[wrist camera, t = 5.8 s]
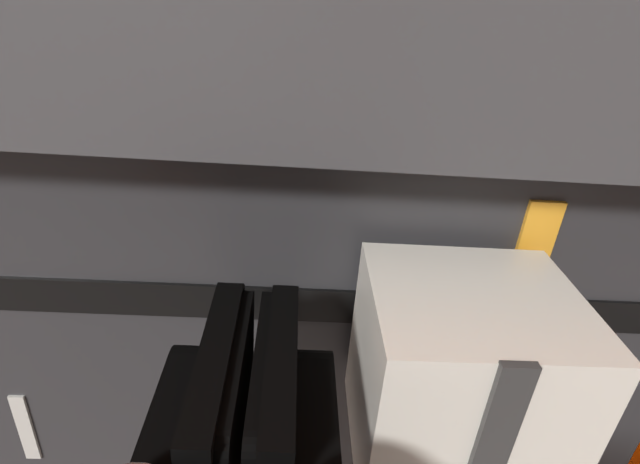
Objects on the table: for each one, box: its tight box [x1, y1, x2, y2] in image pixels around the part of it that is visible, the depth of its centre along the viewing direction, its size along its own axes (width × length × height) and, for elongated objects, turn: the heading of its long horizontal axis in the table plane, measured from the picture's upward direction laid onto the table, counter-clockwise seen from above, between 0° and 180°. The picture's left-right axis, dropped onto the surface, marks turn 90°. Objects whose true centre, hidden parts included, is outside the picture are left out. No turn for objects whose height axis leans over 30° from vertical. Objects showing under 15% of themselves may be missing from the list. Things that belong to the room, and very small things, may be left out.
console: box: [0, 0, 640, 464], centre depth 12 cm, size 20×14×4 cm
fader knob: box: [345, 242, 640, 464], centre depth 10 cm, size 4×4×4 cm
